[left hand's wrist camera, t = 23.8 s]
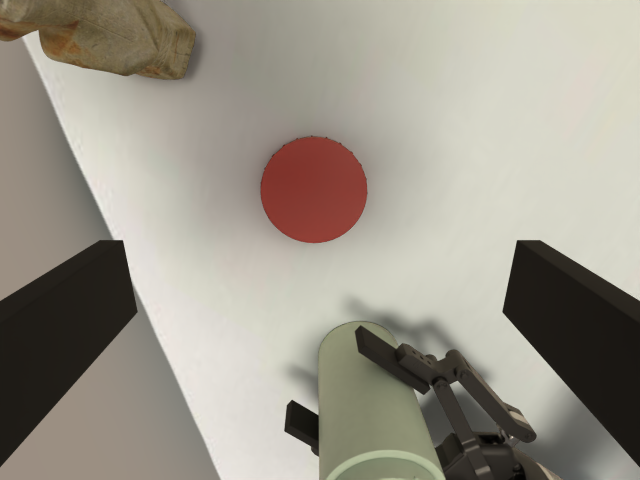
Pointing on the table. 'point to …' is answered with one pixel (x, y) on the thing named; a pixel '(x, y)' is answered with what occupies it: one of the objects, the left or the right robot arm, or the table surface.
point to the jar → (369, 416)
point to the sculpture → (105, 34)
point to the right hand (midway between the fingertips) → (322, 378)
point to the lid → (313, 189)
